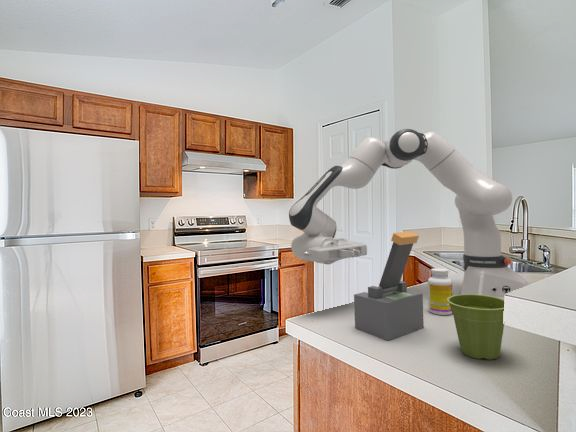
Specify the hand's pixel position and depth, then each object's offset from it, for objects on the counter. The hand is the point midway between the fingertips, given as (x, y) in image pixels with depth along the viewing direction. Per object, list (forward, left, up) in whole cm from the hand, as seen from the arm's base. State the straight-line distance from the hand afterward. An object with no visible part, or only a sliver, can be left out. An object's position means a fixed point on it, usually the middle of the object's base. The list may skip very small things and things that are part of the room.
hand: (356, 254), depth 95 cm
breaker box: (-10, +6, -19) cm, 22 cm away
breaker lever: (-10, +6, -8) cm, 14 cm away
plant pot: (-30, +14, -19) cm, 38 cm away
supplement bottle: (-22, -13, -19) cm, 31 cm away
